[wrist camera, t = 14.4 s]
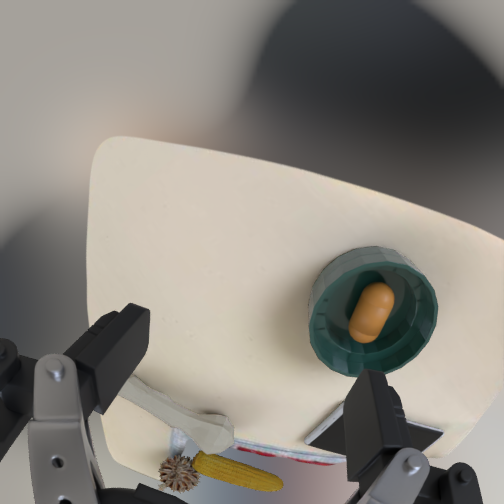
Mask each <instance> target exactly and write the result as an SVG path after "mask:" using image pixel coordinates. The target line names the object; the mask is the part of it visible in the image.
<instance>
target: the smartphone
mask: <svg viewBox="0 0 504 504" xmlns="http://www.w3.org/2000/svg"><path fill="white" fill-rule="evenodd" d="M343 405H344V402H343V403H342V404H341V405H340V406H339V407H338V408H337V409H336V410H335V411H334V412H333V413H332V414H331V415H329V416H328V417H327V418H326V419H325V420H324V421H323V422H322V423H321V424H320V425H319V426H318V427H317V428H316V429H314V430H313V431H312V432H311V433H310V434H309V435H308V436H307V437H306V438H305V440H304V443H305V444H306V445H310V446H313V447H316V448H320V449H323V450H327V451H330V452H334V453H338V454H342V455H346V443H345V430H344V418H343ZM406 421H407V425H408V429H409V432H410V436H411V440H412V444H413V448H414V449H417V450H419V451H420V452H422V453H423V452H424V451H425V450H427V449H428V448H429V447H430V446H432V445H433V444H434V443H435V442H437V441H438V440H439V439H440V438H441V437H442V436H443V435H444V431H443V430H441V429H437V428H433V427H430V426H426V425H422V424H419V423H415V422H412V421H408V420H406Z"/></svg>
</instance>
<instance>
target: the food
mask: <svg viewBox="0 0 504 504" xmlns="http://www.w3.org/2000/svg"><path fill="white" fill-rule="evenodd" d="M191 465H192V467H193V468H194V469H195V470H196V471H197V472H199V473H201V474H203V475H205V476H208V477H211V478H214V479H218V480H222V481H225V482H229V483H231V484H235V485H238V486H243V487H248V488H251V489H255V490H260V491H277V490H280V489H281V488H283V481H282V480H281V479H280V478H279V477H277V476H276V475H273V474H271V473H268V472H265V471H263V470H260V469H257V468H254V467H252V466H249V465H247V464H243V463H240V462H237V461H234V460H230V459H227V458H224V457H222V456H219V455H216V454H208V455H207V454H206V453H205V452H203V451H199V453H198V454H196V457H193V461H192V464H191Z"/></svg>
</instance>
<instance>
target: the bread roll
mask: <svg viewBox="0 0 504 504" xmlns="http://www.w3.org/2000/svg"><path fill="white" fill-rule="evenodd" d="M393 305H394V293H393V291H392V289H391V288H390V287H389V286H388V285H387V284H385V283H382V282H374V283H371V284H369V285H368V286H366V287H365V288H364V290H363V291H362V293H361V296H360V298H359V301H358V303H357V305H356V307H355V310H354V312H353V314H352V316H351V319H350V321H349V326H348V328H349V333H350V335H351V337H352V338H353V339H354V340H355V341H357V342H360V343H369V342H372V341H373V340H375V339H376V338H377V337H378V335H379V334H380V332H381V330H382V328H383V326H384V324H385V322H386V320H387V318H388V316H389V314H390V312H391V310H392V308H393Z"/></svg>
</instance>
